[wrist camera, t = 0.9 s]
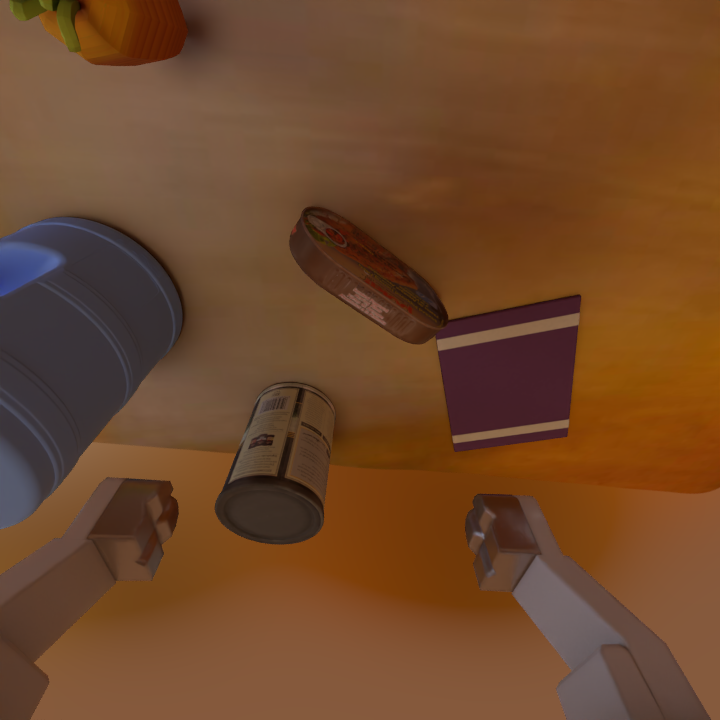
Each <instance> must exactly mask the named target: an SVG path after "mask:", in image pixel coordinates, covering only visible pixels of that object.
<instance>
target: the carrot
mask: <svg viewBox="0 0 720 720" xmlns="http://www.w3.org/2000/svg"><path fill="white" fill-rule="evenodd" d="M10 10H11V11H12V13H13V14H14V16H15V17H16V18H17V19H19V20H22V21H27V20H29V19H31V18H33V17H35V16H37V15H38V16H39V18H40V20H41V22H42V24H43V26H44V28H45V30H46V31H47V32H49V33H50V34H51V35H53V36H54V37H55V38H57V39H58V40H60V41H61V42H62V43H64V44H65V45H66V46H67V47H68V49H69V51H70V52H76V53H77V54H79V55H80V56H81V57H83V58H84V59H85V60H87V61H88V62H90V63H92V64H95V65H111V66H136V65H141V64H146V63H151V62H156V61H161V60H165V59H168V58H172V57H174V56H176V55H178V54H180V52H181V50H182V48H183V45H184V42H185V39H186V36H187V33H188V29H187V26H186V23H185V19H184V16H183V13H182V10H181V8H180V5H179V3H178V0H10Z"/></svg>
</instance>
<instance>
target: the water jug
mask: <svg viewBox="0 0 720 720" xmlns="http://www.w3.org/2000/svg"><path fill="white" fill-rule="evenodd" d="M181 328H182V307H181V302H180V299H179V296H178V293H177V291H176V288H175V286H174V284H173V283H172V281H171V279H170V277H169V276H168V274H167V273H166V272H165V270H164V269H163V268H162V266H161V265H160V264H159V263H158V262H157V261H156V259H155V258H154V257H153V256H152V255H151V254H150V253H148V252H147V251H146V250H145V249H144V248H143V247H142V246H140V245H139V244H138V243H136V242H135V241H133V240H132V239H131V238H129V237H127V236H126V235H124V234H122V233H121V232H119V231H117V230H115V229H113V228H110V227H108V226H106V225H103V224H100V223H97V222H94V221H91V220H86V219H81V218H74V217H56V218H49V219H45V220H42V221H39V222H36V223H34V224H31V225H28V226H26V227H24V228H22V229H20V230H18V231H17V232H16V233H13V234H11V235H8V236H5V237H3V238H0V529H3V528H7V527H10V526H13V525H15V524H17V523H20V522H21V521H23V520H25V519H26V518H28V517H29V516H30V515H31V514H33V513H34V511H36V509H37V508H38V507H39V506H40V505H41V503H42V502H43V501H44V500H45V499H46V498H48V497H49V496H50V495H51V494H52V493H53V492H54V491H55V490H56V489H57V488H58V486H59V485H60V484H61V483H62V482H63V480H64V479H65V478H66V477H67V475H68V474H69V473H70V472H71V470H72V469H73V467H74V466H75V465H76V463H77V461H78V459H79V457H80V456H81V455H82V454H83V452H84V451H85V450H86V449H87V448H88V446H89V445H90V444H91V443H92V442H93V440H94V439H95V438H96V437H97V435H98V434H99V433H100V432H101V431H102V429H103V428H104V427H105V426H106V424H107V423H108V422H109V421H110V420H111V418H112V417H113V416H114V415H115V414H116V413H118V412H119V411H120V410H121V409H122V408H123V407H124V406H125V404H126V403H127V402H128V401H129V399H130V398H131V397H132V396H133V394H134V393H135V391H136V390H137V388H138V387H139V385H140V383H141V382H142V381H143V379H144V378H145V377H146V376H147V375H148V373H149V372H150V371H151V370H152V368H153V367H154V366H155V365H156V364H157V362H158V361H159V360H160V359H162V358H163V357H164V356H165V355H166V354H167V353H168V351H169V350H170V349H171V348H172V347H173V345H174V344H175V342H176V341H177V339H178V337H179V334H180V332H181Z"/></svg>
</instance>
